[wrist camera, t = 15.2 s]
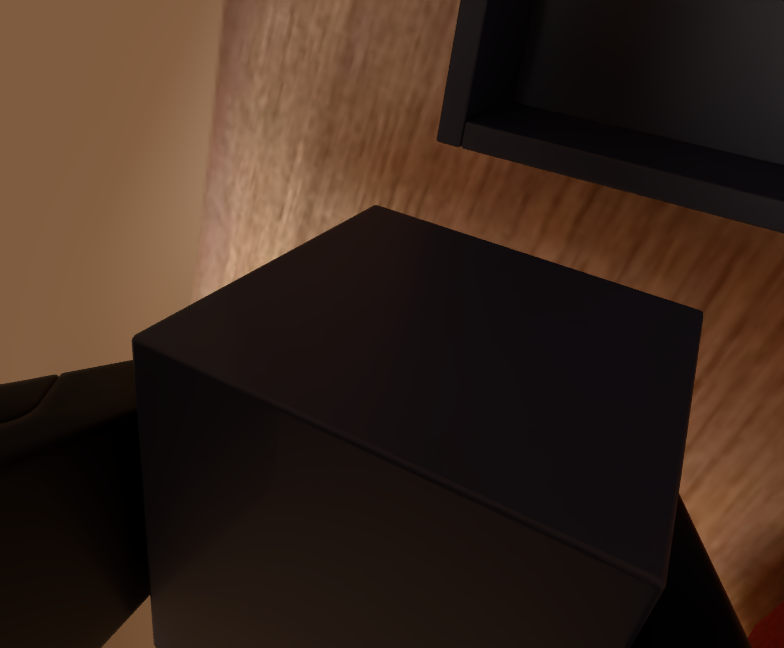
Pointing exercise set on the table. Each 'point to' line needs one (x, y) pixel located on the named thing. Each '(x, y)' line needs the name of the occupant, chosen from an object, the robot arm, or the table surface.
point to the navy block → (412, 448)
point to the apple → (769, 630)
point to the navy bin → (629, 96)
